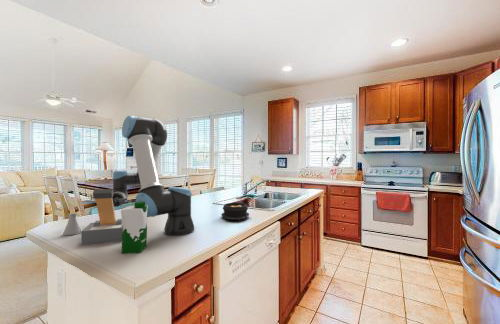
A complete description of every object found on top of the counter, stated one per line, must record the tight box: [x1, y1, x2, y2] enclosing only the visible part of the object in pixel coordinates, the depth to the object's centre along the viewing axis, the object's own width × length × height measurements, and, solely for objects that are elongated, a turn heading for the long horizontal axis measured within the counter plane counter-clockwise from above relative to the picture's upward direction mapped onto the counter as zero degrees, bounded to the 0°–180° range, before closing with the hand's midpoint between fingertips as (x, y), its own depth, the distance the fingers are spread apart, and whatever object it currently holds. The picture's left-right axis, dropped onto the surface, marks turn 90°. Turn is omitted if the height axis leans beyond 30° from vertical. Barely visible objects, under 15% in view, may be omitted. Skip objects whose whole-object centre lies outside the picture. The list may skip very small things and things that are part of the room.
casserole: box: [220, 202, 250, 221], centre depth 150 cm, size 25×19×8 cm
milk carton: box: [120, 201, 148, 255], centre depth 94 cm, size 9×9×20 cm
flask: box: [62, 212, 82, 236], centre depth 115 cm, size 7×7×10 cm
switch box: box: [80, 218, 122, 246], centre depth 110 cm, size 14×18×8 cm
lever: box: [92, 188, 117, 225], centre depth 104 cm, size 3×7×20 cm
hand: (107, 207), depth 107 cm, fingers closed
